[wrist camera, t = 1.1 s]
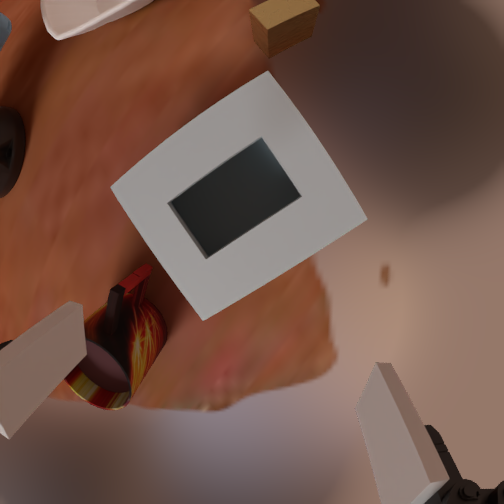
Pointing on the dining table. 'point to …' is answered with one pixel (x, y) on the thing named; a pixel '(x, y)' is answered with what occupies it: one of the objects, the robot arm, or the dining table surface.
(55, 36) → the bowl
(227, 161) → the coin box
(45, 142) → the dining table surface
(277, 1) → the token
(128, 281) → the mug
